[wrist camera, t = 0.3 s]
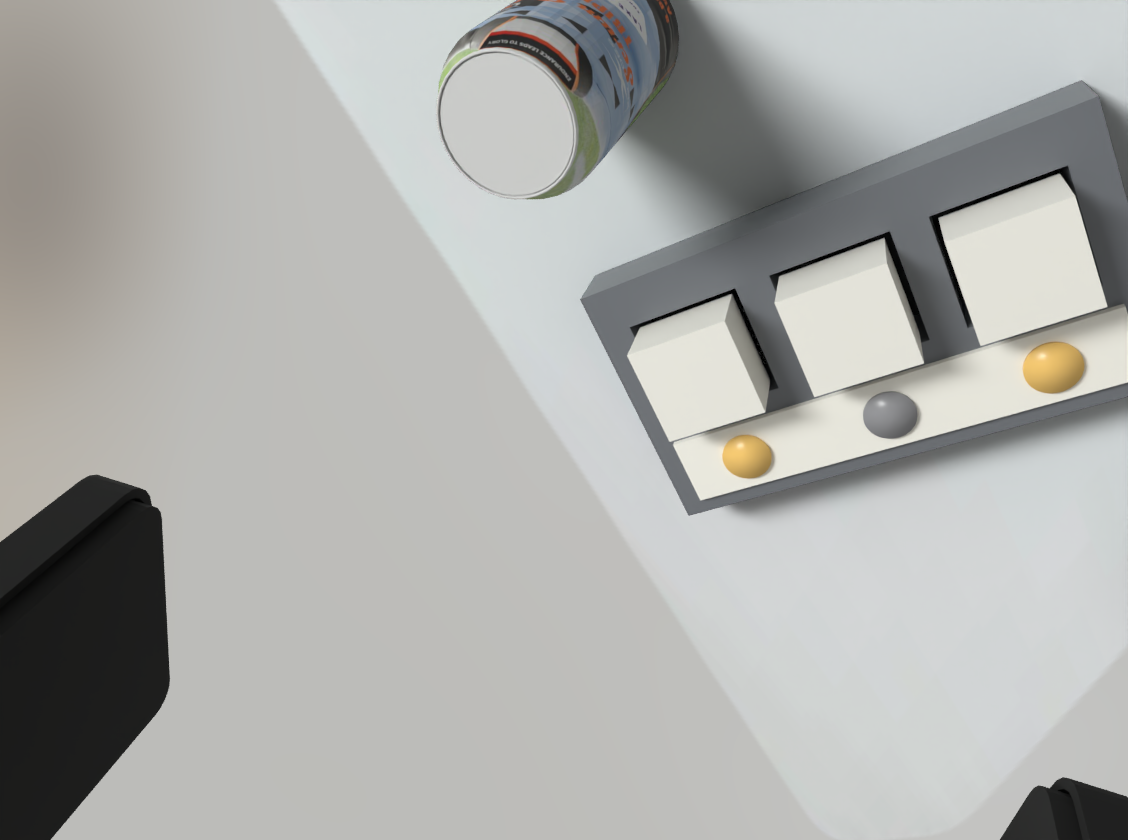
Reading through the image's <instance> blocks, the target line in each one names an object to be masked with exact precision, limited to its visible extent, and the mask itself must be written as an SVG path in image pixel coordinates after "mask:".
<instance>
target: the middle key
mask: <svg viewBox="0 0 1128 840" xmlns="http://www.w3.org/2000/svg"><path fill="white" fill-rule="evenodd" d="M775 306H776V308H777V310H778V313H779V315H780V318H781V320H782V322H783V325H784V327H785V329H786V332H787V334H788V336H789V339H790V341H791V343H792V346H793V348H794V350H795V353H796V355H797V358H798V360H799V362H800V365H801V367H802V369H803V372H804V374H805V376H806V379H807V381H808V383H809V386H810V388H811V391H812V393H813V395H814V397H817V396H820V395H823V394H827V393H830V392H833V391H836V390H840V389H843V388H846V387H849V386H853V385H856V384H859V383H862V382H866V381H869V380H872V379H875V378H879V377H882V376H885V375H888V374H892V373H895V372H898V371H901V370H905V369H908V368H911V367H914V366H917V365H921V364H924V359H923V352H922V346H921V339H920V332H919V330H918V327H917V324H916V322H915V319H914V316H913V313H912V311H911V308H910V305H909V303H908V300H907V297H906V295H905V292H904V289H903V286H902V284H901V281H900V278H899V276H898V273H897V270H896V268H895V265H894V262H893V259H892V257H891V254H890V251H889V249H888V246H887V243H886V241H885V238H882V239H879V240H876V241H873V242H871V243H868V244H865V245H863V246H860V247H857V248H854V249H852V250H849V251H846V252H844V253H841V254H838V255H835V256H833V257H830V258H827V259H825V260H822V261H819V262H816V263H814V264H811V265H808V266H806V267H803V268H800V269H797V270H795V271H792V272H789V273H787V274H784V275H781V276H779V280H778V286H777V291H776V297H775Z"/></svg>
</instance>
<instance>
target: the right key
mask: <svg viewBox="0 0 1128 840" xmlns="http://www.w3.org/2000/svg"><path fill="white" fill-rule="evenodd" d="M938 219H939V223H940V227H941V231H942V235H943V238H944V242H945V245H946V248H947V251H948V254H949V257H950V260H951V263H952V265H953V268H954V271H955V274H956V277H957V280H958V283H959V286H960V289H961V291H962V294H963V297H964V300H965V303H966V306H967V309H968V312H969V314H970V317H971V320H972V323H973V326H974V329H975V332H976V335H977V337H978V340H979V343H980V346H982V345H986V344H989V343H992V342H995V341H999V340H1002V339H1005V338H1008V337H1012V336H1015V335H1018V334H1021V333H1025V332H1028V331H1031V330H1034V329H1037V328H1041V327H1044V326H1047V325H1050V324H1054V323H1057V322H1060V321H1063V320H1067V319H1070V318H1073V317H1076V316H1080V315H1083V314H1086V313H1089V312H1093V311H1096V310H1099V309H1102V308H1106V307H1107V303H1106V300H1105V296H1104V293H1103V289H1102V286H1101V283H1100V279H1099V276H1098V272H1097V269H1096V265H1095V262H1094V259H1093V255H1092V252H1091V248H1090V245H1089V241H1088V238H1087V234H1086V231H1085V228H1084V224H1083V221H1082V217H1081V214H1080V210H1079V207H1078V204H1077V200H1076V197H1075V195H1074V193H1073V192H1072V190H1071V189H1070V188H1069V186H1068V185H1067V183H1066V182H1065V180H1064V179H1063V177H1062V176H1061V175H1060V173H1058V174H1056V175H1053V176H1050V177H1047V178H1045V179H1042V180H1039V181H1037V182H1034V183H1031V184H1028V185H1026V186H1023V187H1020V188H1018V189H1015V190H1012V191H1009V192H1007V193H1004V194H1001V195H999V196H996V197H993V198H990V199H988V200H985V201H982V202H980V203H977V204H974V205H971V206H969V207H966V208H963V209H961V210H958V211H955V212H952V213H950V214H947V215H944V216H941V217H939V218H938Z"/></svg>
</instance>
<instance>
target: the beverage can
mask: <svg viewBox="0 0 1128 840" xmlns="http://www.w3.org/2000/svg"><path fill="white" fill-rule="evenodd" d="M678 43H679V35H678V25H677V20H676V17H675V13H674V10H673V8H672V5H671V3H670V1H669V0H516V1H515V2H513V3H511V4H510V5H508V6H507V7H505V8H504V9H502V10H501V11H499V12H498V13H496V14H494V15H493V16H491V17H490V18H488V19H487V20H485V21H484V22H482V23H480V24H479V25H477V26H476V27H474V28H473V29H471V30H470V31H469V32H468V33H466V34H465V35H464V36H463V37H462V38H461V39H460V40H459V41H458V42H457V44H456V45H455V46H454V48H453V49H452V51H451V52H450V53H449V55H448V58H447V60H446V62H445V64H444V66H443V69H442V73H441V77H440V81H439V90H438V98H437V108H436V117H437V126H438V130H439V135H440V138H441V141H442V143H443V146H444V148H445V151H446V152H447V154H448V156H449V157H450V159H451V161H452V162H453V164H454V165H455V166H456V167H457V169H458V170H459V171H460V172H461V173H462V174H463V175H464V176H465V177H466V178H467V179H468V180H469V181H470V182H472V183H473V184H475V185H476V186H478V187H479V188H481V189H483V190H485V191H487V192H489V193H490V194H493V195H496V196H500V197H503V198H510V199H545V198H549V197H553V196H558V195H560V194H562V193H564V192H567V191H569V190H571V189H572V188H574V187H575V186H577V185H578V184H580V183H581V182H582V181H583V180H584V179H585V178H586V177H587V176H588V175H589V174H590V173H591V172H592V171H593V170H594V169H595V167H596V166H597V165H598V164H599V163H600V162H601V160H602V159H603V158H604V157H605V156H606V154H607V153H608V152H609V151H610V150H611V148H612V147H613V146H614V145H615V144H616V143H617V141H618V140H619V139H620V138H621V137H622V135H623V134H624V133H625V132H626V131H627V129H628V128H629V127H630V126H631V125H632V124H633V122H634V121H635V120H636V119H637V118H638V116H639V115H640V114H641V113H642V112H643V110H644V109H645V108H646V107H647V106H648V105H649V103H650V102H651V101H652V100H653V99H654V97H655V96H656V95H657V94H658V93H659V92H660V90H661V89H662V88H663V87H664V85H665V83H666V82H667V80H668V79H669V77H670V75H671V73H672V70H673V68H674V66H675V62H676V58H677V54H678Z"/></svg>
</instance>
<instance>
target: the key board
mask: <svg viewBox="0 0 1128 840" xmlns="http://www.w3.org/2000/svg"><path fill="white" fill-rule="evenodd" d="M1059 168H1060V169H1061V173H1062V176H1063V179H1064V180H1065V182H1066V183H1067V185H1068V186H1069V188H1070V189H1071V190H1072V192H1073V193H1074V195H1075V197H1076V200H1077V204H1078V207H1079V210H1080V214H1081V217H1082V221H1083V224H1084V228H1085V231H1086V234H1087V238H1088V241H1089V245H1090V248H1091V252H1092V255H1093V259H1094V262H1095V265H1096V269H1097V272H1098V276H1099V279H1100V283H1101V286H1102V289H1103V293H1104V296H1105V300H1106V303H1107V307H1106V308H1102V309H1099V310H1096V311H1093V312H1089V313H1086V314H1083V315H1080V316H1076V317H1073V318H1070V319H1067V320H1063V321H1060V322H1057V323H1054V324H1050V325H1047V326H1044V327H1041V328H1037V329H1034V330H1031V331H1028V332H1025V333H1021V334H1018V335H1015V336H1012V337H1008V338H1005V339H1002V340H999V341H995V342H992V343H989V344H986V345H982V346H980V343H979V340H978V337H977V335H976V332H975V329H974V326H973V323H972V320H971V317H970V314H969V312H968V309H967V306H966V303H965V300H964V299H963V300H960V298H959V295H958V292H957V289H956V286H955V283H954V280H953V278H952V275H951V272H950V269H949V266H948V263H947V260H946V257H945V255H944V252H943V249H942V246H941V243H940V240H939V237H938V235H937V232H936V229H935V226H934V223H933V220H932V217H931V216H932V215H935V214H937V213H940V212H943V211H946V210H948V209H951V208H954V207H956V206H959V205H962V204H965V203H967V202H970V201H973V200H975V199H978V198H981V197H983V196H986V195H989V194H992V193H994V192H997V191H1000V190H1002V189H1005V188H1008V187H1011V186H1013V185H1016V184H1019V183H1021V182H1024V181H1027V180H1029V179H1032V178H1035V177H1038V176H1040V175H1043V174H1046V173H1048V172H1051V171H1054V170H1056V169H1059ZM889 231H890V233H891V236H892V239H893V241H894V244H895V247H896V249H897V252H898V255H899V258H900V260H901V263H902V266H903V269H904V271H905V274H906V277H907V279H908V282H909V285H910V288H911V290H912V293H913V296H914V298H915V301H916V304H917V307H918V309H919V312H920V314H918V315H915V316H914V319H915V322H916V324H917V327H918V330H919V332H920V339H921V346H922V352H923V359H924V364H921V365H917V366H914V367H911V368H908V369H905V370H901V371H898V372H895V373H892V374H888V375H885V376H882V377H879V378H875V379H872V380H869V381H866V382H862V383H859V384H856V385H853V386H849V387H846V388H843V389H840V390H836V391H833V392H830V393H827V394H823V395H820V396H817V397H814V395H813V393H812V391H811V388H810V386H809V383H808V381H807V379H806V376H805V374H804V372H803V369H802V367H801V365H800V362H799V360H798V358H797V355H796V353H795V350H794V348H793V346H792V343H791V341H790V339H789V336H788V334H787V332H786V329H785V327H784V325H783V322H782V320H781V318H780V315H779V313H778V310H777V308H776V306H775V297H776V291H777V286H778V280H779V276H781V275H783V273H782V271H783V270H786V269H789V268H791V267H794V266H797V265H800V264H802V263H805V262H808V261H810V260H813V259H816V258H818V257H821V256H824V255H827V254H829V253H832V252H835V251H837V250H840V249H843V248H846V247H848V246H851V245H854V244H856V243H859V242H862V241H864V240H867V239H870V238H873V237H875V236H878V235H881V234H883V233H886V232H889ZM732 289H736V291H737V294H738V296H739V298H740V301H741V303H742V305H743V307H744V310H745V312H746V314H747V317H748V319H749V321H750V323H751V326H752V328H753V330H754V333H755V335H756V337H757V339H758V342H759V344H760V346H761V349H762V351H763V353H764V355H765V358H766V360H767V362H768V364H766V365H764V367H765V369H766V372H767V374H768V376H769V378H770V386H769V393H768V399H767V406H766V412H765V413H762V414H759V415H755V416H752V417H749V418H746V419H742V420H739V421H736V422H733V423H729V424H726V425H723V426H720V427H716V428H713V429H710V430H707V431H703V432H700V433H697V434H694V435H691V436H687V437H684V438H681V439H678V440H674V441H671V442H669V440H668V438H667V436H666V434H665V432H664V430H663V428H662V426H661V424H660V422H659V420H658V418H657V416H656V414H655V411H654V409H653V407H652V405H651V403H650V401H649V399H648V397H647V395H646V393H645V391H644V389H643V387H642V385H641V383H640V381H639V379H638V377H637V375H636V373H635V371H634V369H633V367H632V365H631V363H630V361H629V359H628V357H627V355H628V352H629V350H630V348H631V346H632V344H633V342H634V339H635V337H636V335H637V333H638V331H639V328H640V327H642V326H645V325H648V324H651V323H652V322H651V319H654V318H656V317H659V316H662V315H664V314H667V313H670V312H672V311H675V310H678V309H681V308H683V307H686V306H689V305H691V304H694V303H697V302H699V301H702V300H705V299H708V298H710V297H713V296H716V295H718V294H721V293H724V292H727V291H729V290H732ZM580 300H581V302H582V304H583V306H584V308H585V310H586V312H587V314H588V316H589V318H590V320H591V322H592V324H593V326H594V328H595V330H596V332H597V334H598V336H599V338H600V340H601V342H602V344H603V346H604V348H605V350H606V352H607V354H608V356H609V358H610V360H611V362H612V364H613V366H614V368H615V370H616V372H617V374H618V376H619V378H620V380H621V382H622V384H623V386H624V388H625V390H626V392H627V394H628V396H629V398H630V400H631V402H632V404H633V406H634V408H635V410H636V412H637V414H638V416H639V418H640V420H641V422H642V424H643V426H644V428H645V430H646V432H647V434H648V436H649V438H650V440H651V442H652V444H653V446H654V448H655V450H656V452H657V454H658V455H659V457H660V459H661V461H662V463H663V465H664V467H665V469H666V471H667V473H668V475H669V477H670V479H671V481H672V483H673V485H674V487H675V489H676V491H677V493H678V495H679V497H680V499H681V501H682V503H683V505H684V507H685V509H686V511H687V513H688V515H689V516H690V515H693V514H697V513H701V512H704V511H708V510H712V509H715V508H719V507H723V506H726V505H730V504H734V503H737V502H741V501H745V500H749V499H752V498H756V497H760V496H763V495H767V494H771V493H774V492H778V491H782V490H785V489H789V488H793V487H797V486H800V485H804V484H808V483H811V482H815V481H819V480H822V479H826V478H830V477H833V476H837V475H841V474H844V473H848V472H852V471H856V470H859V469H863V468H867V467H870V466H874V465H878V464H881V463H885V462H889V461H892V460H896V459H900V458H904V457H907V456H911V455H915V454H918V453H922V452H926V451H929V450H933V449H937V448H940V447H944V446H948V445H951V444H955V443H959V442H963V441H966V440H970V439H974V438H977V437H981V436H985V435H988V434H992V433H996V432H999V431H1003V430H1007V429H1011V428H1014V427H1018V426H1022V425H1025V424H1029V423H1033V422H1036V421H1040V420H1044V419H1047V418H1051V417H1055V416H1058V415H1062V414H1066V413H1070V412H1073V411H1077V410H1081V409H1084V408H1088V407H1092V406H1095V405H1099V404H1103V403H1106V402H1110V401H1114V400H1118V399H1121V398H1125V397H1128V201H1127V198H1126V194H1125V190H1124V187H1123V183H1122V179H1121V176H1120V172H1119V168H1118V165H1117V161H1116V157H1115V154H1114V150H1113V146H1112V143H1111V139H1110V135H1109V131H1108V128H1107V124H1106V120H1105V117H1104V113H1103V109H1102V106H1101V102H1100V98H1099V96H1098V95H1097V94H1096V93H1095V92H1094V91H1093V90H1092V89H1091V88H1090V87H1088V86H1087V85H1086V84H1085V83H1084V82H1083V81H1082V80H1081V81H1079V82H1076V83H1074V84H1071V85H1069V86H1066V87H1064V88H1061V89H1059V90H1056V91H1054V92H1051V93H1049V94H1047V95H1044V96H1042V97H1039V98H1037V99H1034V100H1032V101H1029V102H1027V103H1024V104H1022V105H1019V106H1017V107H1014V108H1012V109H1009V110H1007V111H1004V112H1002V113H999V114H997V115H994V116H992V117H989V118H987V119H984V120H982V121H979V122H977V123H974V124H972V125H969V126H967V127H964V128H962V129H959V130H957V131H954V132H952V133H949V134H947V135H944V136H942V137H939V138H937V139H934V140H932V141H929V142H927V143H924V144H922V145H919V146H917V147H914V148H912V149H909V150H907V151H904V152H902V153H900V154H897V155H895V156H892V157H890V158H887V159H885V160H882V161H880V162H877V163H875V164H872V165H870V166H867V167H865V168H862V169H860V170H857V171H855V172H852V173H850V174H847V175H845V176H842V177H840V178H837V179H835V180H832V181H830V182H827V183H825V184H822V185H820V186H817V187H815V188H812V189H810V190H807V191H805V192H802V193H800V194H797V195H795V196H792V197H790V198H787V199H785V200H782V201H780V202H777V203H775V204H772V205H770V206H767V207H765V208H762V209H760V210H758V211H755V212H753V213H750V214H748V215H745V216H743V217H740V218H738V219H735V220H733V221H730V222H728V223H725V224H723V225H720V226H718V227H715V228H713V229H710V230H708V231H705V232H703V233H700V234H698V235H695V236H693V237H690V238H688V239H685V240H683V241H680V242H678V243H675V244H673V245H670V246H668V247H665V248H663V249H660V250H658V251H655V252H653V253H650V254H648V255H645V256H643V257H640V258H638V259H635V260H633V261H630V262H628V263H625V264H623V265H620V266H618V267H615V268H613V269H611V270H608V271H606V272H603V273H601V274H598V275H596V276H595V277H594V278H593V280H592V282H591V283H590V285H589V286H588V288H587V290H586V291H585V293H584V294H583V296H582V298H581V299H580Z"/></svg>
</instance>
